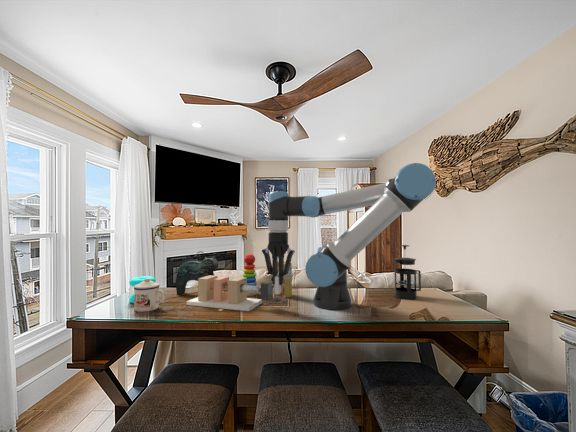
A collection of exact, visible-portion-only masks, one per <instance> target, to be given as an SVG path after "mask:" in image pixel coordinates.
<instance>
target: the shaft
mask: <svg viewBox="0 0 576 432" xmlns="http://www.w3.org/2000/svg"><path fill="white" fill-rule="evenodd" d="M222 290H228V284H222ZM240 291H246V292H258V293H260V299H262V300H270V299H272V298H273V297H274V284H273V280H264V281H263V282H261V283H260V285H256V286H249V285H240Z"/></svg>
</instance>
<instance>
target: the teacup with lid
mask: <svg viewBox="0 0 576 432" xmlns="http://www.w3.org/2000/svg"><path fill="white" fill-rule="evenodd" d="M133 291H134V293H133V294H134V303H133V305H134V306H133V307H134V308H133V309H134V311H135V312H138V313H139V312H140V313H141V312H143V313H144V312H150V311H155V310H157V309H159V307H160V303H163V302H164V300H165V298H166V292H164V290H162V289H160V283H158V282H156V281H155V282H153V281H150V279H149V278H145V279H144V281H143V282H141V283H140V284H137V285H135V286H134V287H133ZM160 294H161V295H162V296H161V298H160Z"/></svg>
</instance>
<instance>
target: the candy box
mask: <svg viewBox="0 0 576 432" xmlns="http://www.w3.org/2000/svg"><path fill="white" fill-rule="evenodd" d="M285 263H286V261H284V267H285ZM292 267H293V266H292V262H291V263H290V267H289V272H288V274H287V275H284V276H283V284H282V285H281V293H280V294H277V296H280V297H282V298H283V299H284V298H285V299H287V298H292V297H293V280H292V279H293V275H292V271H293V268H292ZM277 273H278V275H279V260H278V272H277ZM278 275H277V276H278Z"/></svg>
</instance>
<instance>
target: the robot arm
mask: <svg viewBox="0 0 576 432" xmlns="http://www.w3.org/2000/svg"><path fill="white" fill-rule="evenodd" d="M436 180H437V179H436V175H435V173H434V171H433V170H432V169H431V167H429V166H427V165H426V164H423V163H419V162H413V163H408V164H406V165H404V166H403V167H401V168H400V169H399V170H398V172H397V173H396V176H394V177H393V178H389V179H386V181H385V182H384V183H379V184H375V185H369V186H365V187H360V188H356V189H352V190H351V189H350V190H347V191H343V192H337V193H333V194H328V195H323V196H319V197H318V196H315V195H306V196H303V195H302V196H290V195H289V193H288V192H287V191H280V190H279V191H275V190H274V191H270V192H269V194H268V203H267V204H268V231H269V232H268V243H267V247H266V248H264V249H262V250H261V252H262V254H263V256H264V261H265V265H266V269H267V274H268V275H271V276H272V281H273V286H274V295H278V294H280V293H281V285H282V284H283V276H284V275H287V274H288V272H289V267H290V263H292V257H293V255H294V254H295V252H296V251H295V250H294V249H291V248H290V245H289V232H288V231H289V217H304V218H305V217H308V218H318V217H320V216H325V215H329V214H335V213H339V212H345V211H350V210H351V211H352V210H357V209H361V208H367V207H369V208H368V209H367V210H366V211H365V212H364V213H362V215H361V216H360V217H358V218H357V219H356V221H355V222H353V224H351V226H349V227H348V228H347V229H346V230H345V231H344V232H343V233H342V234H341V235H340V236H339V237H338V238H337V239H336V240H335V241H333V242H331V241H330V242H329V241H328V242H327V243H326V244H325V245H324V246H320V247H318V248H317V252H316V253H315V254H313V255H311V256H310V257H309V258H308V259H307V261H306V263H305V275H306V277H307V279H308V280H309V282H310V283H312V284H313V285H314V286H316V289H315V293H314V296H313V305H314V306H315V307H317V308H321V309H324V310H325V309H326V310H345V309H348V308H350V307H352V306H353V305H352V303H353V302H352V297H351V294H350V291H349V288H348V281H347V280H348V279H347V277H348V274H347V273H348V272H347V271H348V270H349V269H350V268H351V267H352V260H353V259H354V258H355V257H356V256H358V255H359V254H360V253H361V252H362V251H363V250H364V249H365V248H366V247H367V246H368V245H370V243H371V242H373V241H374V240H375V239H376V238H377V237H378V236H379V235H380V234H381V233H382V232H383V231H385V229H387V227H389V226H390V225H391V223H392V222H394V221H395V220H396V219H397V218H398V217H400V216H401V215H402V214H403V213H408V212H409V213H410V212H411V211H413V210H414V209H415V208H416V207H417V206H418V205H419V204H420V203H421V202H422V201H424V200H425V198H428V197H429V196H430V195H431V194H432V193H433V192H434V190H435V187H436ZM286 253H287V256H286V260H285V255H286ZM270 254H271V255H270ZM271 259H272V260H271ZM278 261H279V275H278V273H277V272H278ZM284 262H286V263H285V267H284ZM277 275H278V276H277Z"/></svg>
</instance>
